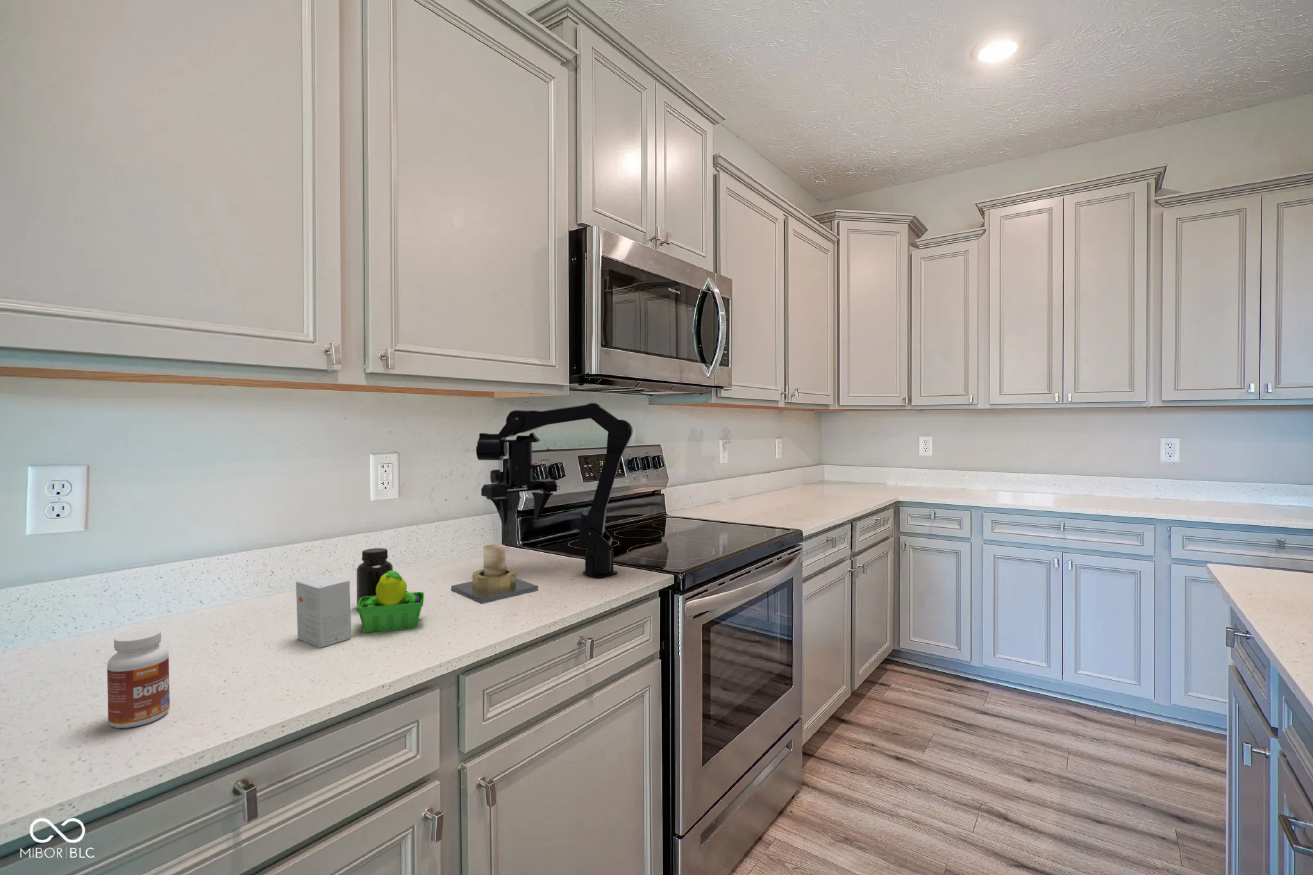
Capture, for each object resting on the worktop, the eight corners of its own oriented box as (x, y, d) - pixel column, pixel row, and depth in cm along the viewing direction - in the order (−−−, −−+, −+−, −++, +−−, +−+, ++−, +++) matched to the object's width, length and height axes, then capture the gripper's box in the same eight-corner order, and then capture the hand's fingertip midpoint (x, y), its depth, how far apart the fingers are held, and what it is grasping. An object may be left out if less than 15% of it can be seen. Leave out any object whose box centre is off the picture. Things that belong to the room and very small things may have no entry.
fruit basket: (424, 616, 120) (423, 559, 120) (423, 631, 112) (422, 570, 111) (361, 622, 116) (360, 564, 116) (355, 638, 108) (354, 576, 108)
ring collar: (505, 578, 148) (505, 562, 148) (537, 590, 138) (537, 572, 138) (451, 590, 138) (450, 572, 138) (481, 603, 128) (481, 584, 128)
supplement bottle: (383, 613, 122) (382, 553, 121) (350, 612, 122) (349, 553, 122) (399, 602, 129) (398, 546, 128) (367, 602, 129) (366, 546, 128)
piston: (499, 581, 141) (498, 543, 141) (509, 585, 138) (509, 546, 138) (480, 585, 138) (479, 546, 138) (490, 590, 134) (490, 549, 134)
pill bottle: (136, 731, 76) (133, 644, 76) (95, 728, 77) (92, 641, 77) (182, 708, 82) (180, 627, 82) (143, 705, 83) (141, 625, 83)
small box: (352, 639, 108) (350, 580, 107) (319, 648, 103) (318, 587, 103) (328, 630, 112) (327, 573, 112) (296, 639, 108) (295, 580, 107)
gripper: (534, 457, 163) (534, 514, 164) (469, 460, 150) (470, 523, 151) (558, 459, 155) (558, 519, 156) (492, 463, 142) (493, 529, 143)
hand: (520, 522), depth 152 cm, fingers open, 9 cm apart
